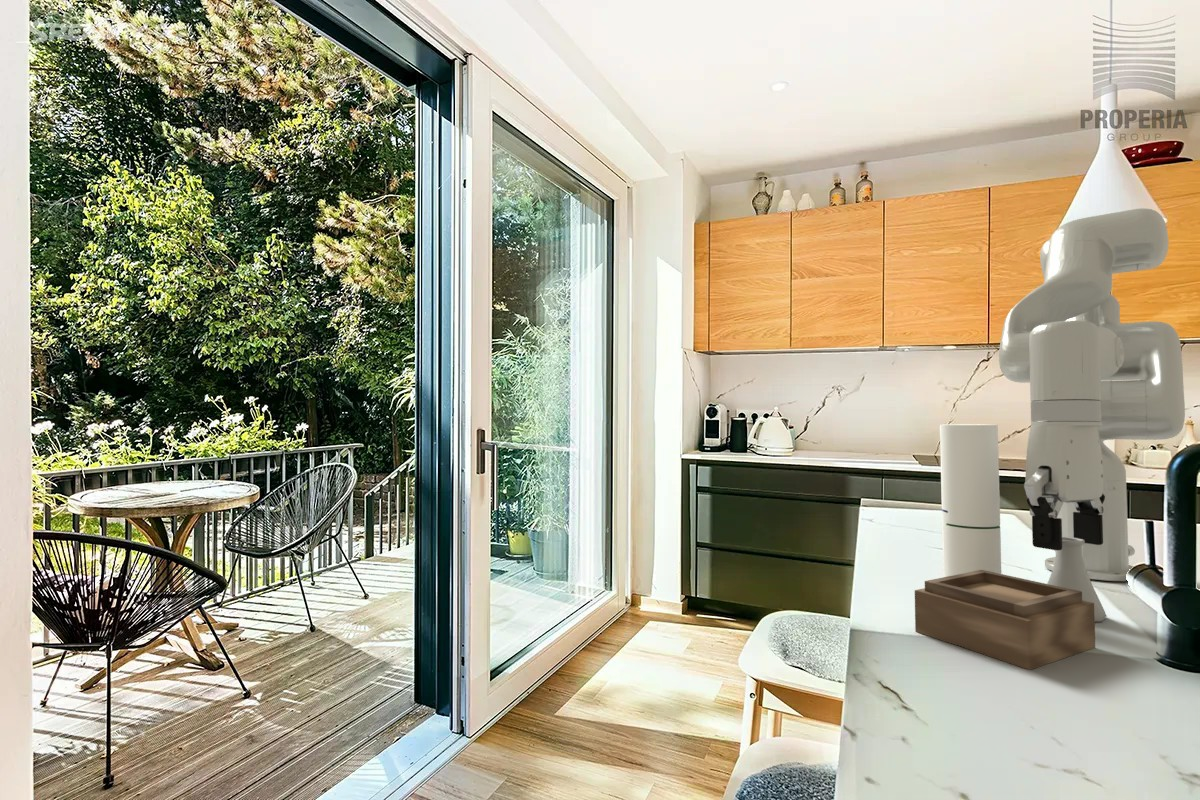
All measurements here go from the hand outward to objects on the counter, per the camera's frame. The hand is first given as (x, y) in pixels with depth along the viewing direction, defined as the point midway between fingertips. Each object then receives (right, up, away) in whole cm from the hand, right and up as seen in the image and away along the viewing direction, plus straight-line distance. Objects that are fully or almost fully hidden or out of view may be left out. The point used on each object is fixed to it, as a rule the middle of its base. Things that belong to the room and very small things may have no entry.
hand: (1068, 545), depth 81 cm
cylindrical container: (-8, -10, +7) cm, 15 cm away
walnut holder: (-14, -9, -8) cm, 19 cm away
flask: (+1, -9, 0) cm, 9 cm away
